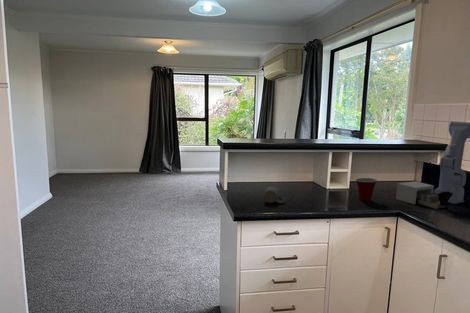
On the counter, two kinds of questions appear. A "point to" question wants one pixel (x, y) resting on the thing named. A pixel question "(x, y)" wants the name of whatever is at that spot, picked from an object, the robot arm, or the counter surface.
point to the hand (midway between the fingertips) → (443, 205)
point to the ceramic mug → (273, 195)
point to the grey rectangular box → (412, 191)
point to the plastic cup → (365, 188)
